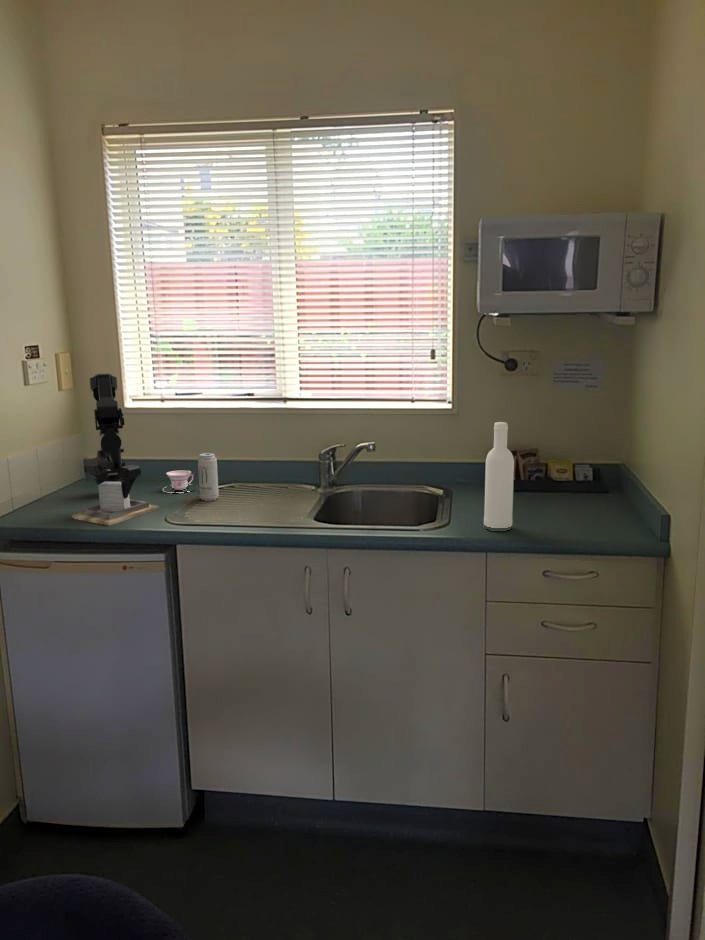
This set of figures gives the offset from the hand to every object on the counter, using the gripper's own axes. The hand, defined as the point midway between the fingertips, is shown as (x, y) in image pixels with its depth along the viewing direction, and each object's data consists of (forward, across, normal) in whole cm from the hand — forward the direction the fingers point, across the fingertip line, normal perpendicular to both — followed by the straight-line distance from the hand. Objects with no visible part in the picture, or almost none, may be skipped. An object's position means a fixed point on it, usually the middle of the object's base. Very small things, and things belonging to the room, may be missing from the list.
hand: (114, 496), depth 234 cm
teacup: (+6, -4, +32) cm, 33 cm away
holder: (+6, 0, 0) cm, 6 cm away
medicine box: (+5, 0, 0) cm, 5 cm away
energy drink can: (+6, +14, +27) cm, 31 cm away
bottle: (+5, +108, +40) cm, 115 cm away
